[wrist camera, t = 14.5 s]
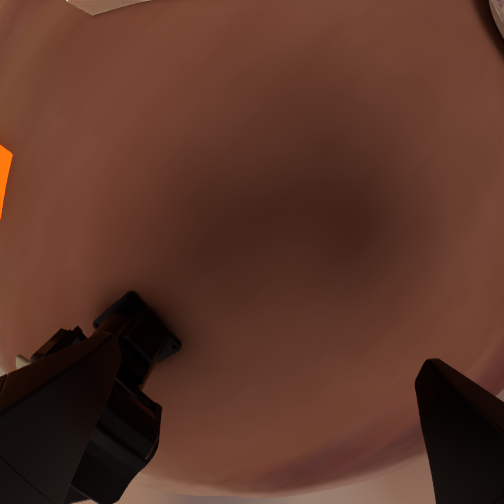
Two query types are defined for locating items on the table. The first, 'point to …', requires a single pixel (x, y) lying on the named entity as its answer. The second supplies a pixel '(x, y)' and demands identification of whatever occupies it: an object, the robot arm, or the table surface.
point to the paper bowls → (498, 14)
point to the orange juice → (4, 172)
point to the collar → (101, 5)
